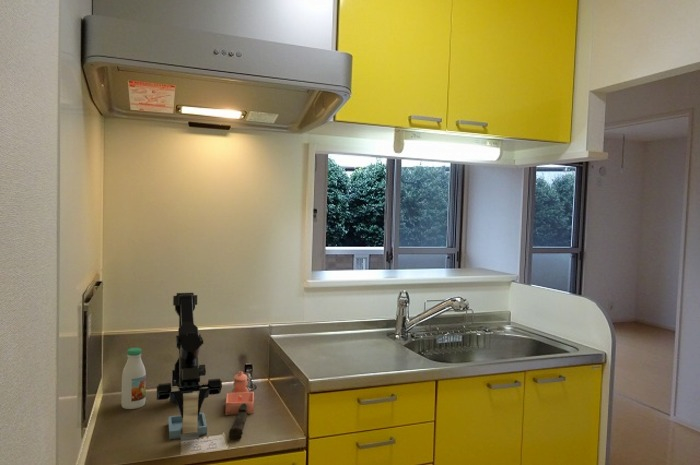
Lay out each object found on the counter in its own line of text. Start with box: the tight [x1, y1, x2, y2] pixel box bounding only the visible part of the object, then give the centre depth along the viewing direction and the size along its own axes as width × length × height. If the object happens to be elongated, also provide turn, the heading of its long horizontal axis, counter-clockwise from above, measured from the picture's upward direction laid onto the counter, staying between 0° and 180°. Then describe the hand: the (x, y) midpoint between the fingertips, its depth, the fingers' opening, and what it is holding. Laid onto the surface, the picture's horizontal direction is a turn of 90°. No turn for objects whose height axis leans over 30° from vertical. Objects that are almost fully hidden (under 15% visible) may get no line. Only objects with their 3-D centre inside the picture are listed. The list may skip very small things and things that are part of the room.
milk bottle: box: [120, 347, 147, 410], centre depth 169 cm, size 8×8×20 cm
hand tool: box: [228, 404, 248, 441], centre depth 156 cm, size 19×4×5 cm, turn 2°
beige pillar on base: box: [180, 391, 200, 442], centre depth 143 cm, size 5×5×12 cm
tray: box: [167, 412, 208, 440], centre depth 153 cm, size 11×11×2 cm
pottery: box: [225, 370, 255, 415], centre depth 174 cm, size 18×10×10 cm, turn 12°
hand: (190, 416), depth 142 cm, fingers closed on beige pillar on base, 4 cm apart
